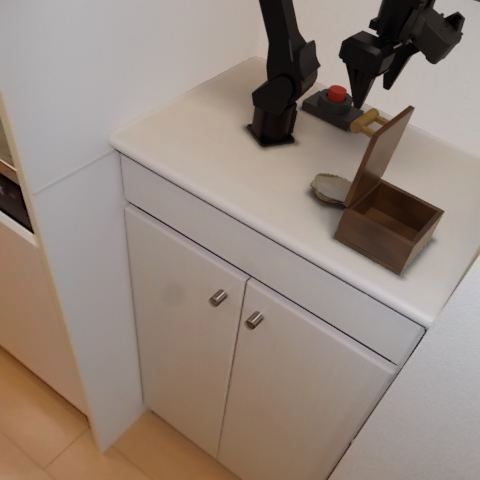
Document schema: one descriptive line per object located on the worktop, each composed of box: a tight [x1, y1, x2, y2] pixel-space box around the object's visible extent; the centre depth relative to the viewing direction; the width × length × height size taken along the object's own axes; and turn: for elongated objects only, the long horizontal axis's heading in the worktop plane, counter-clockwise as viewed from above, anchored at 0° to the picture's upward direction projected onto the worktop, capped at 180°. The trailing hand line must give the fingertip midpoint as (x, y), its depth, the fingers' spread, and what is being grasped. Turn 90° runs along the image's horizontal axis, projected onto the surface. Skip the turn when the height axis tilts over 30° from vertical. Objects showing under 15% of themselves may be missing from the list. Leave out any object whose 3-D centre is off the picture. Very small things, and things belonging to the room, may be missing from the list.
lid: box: [343, 105, 416, 208], centre depth 70 cm, size 11×11×5 cm
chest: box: [333, 177, 445, 276], centre depth 74 cm, size 11×11×5 cm
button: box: [327, 84, 348, 102], centre depth 95 cm, size 3×3×2 cm
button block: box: [300, 87, 365, 132], centre depth 97 cm, size 10×6×4 cm, turn 54°
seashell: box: [309, 172, 352, 205], centre depth 80 cm, size 8×3×8 cm
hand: (372, 98), depth 78 cm, fingers open, 9 cm apart
